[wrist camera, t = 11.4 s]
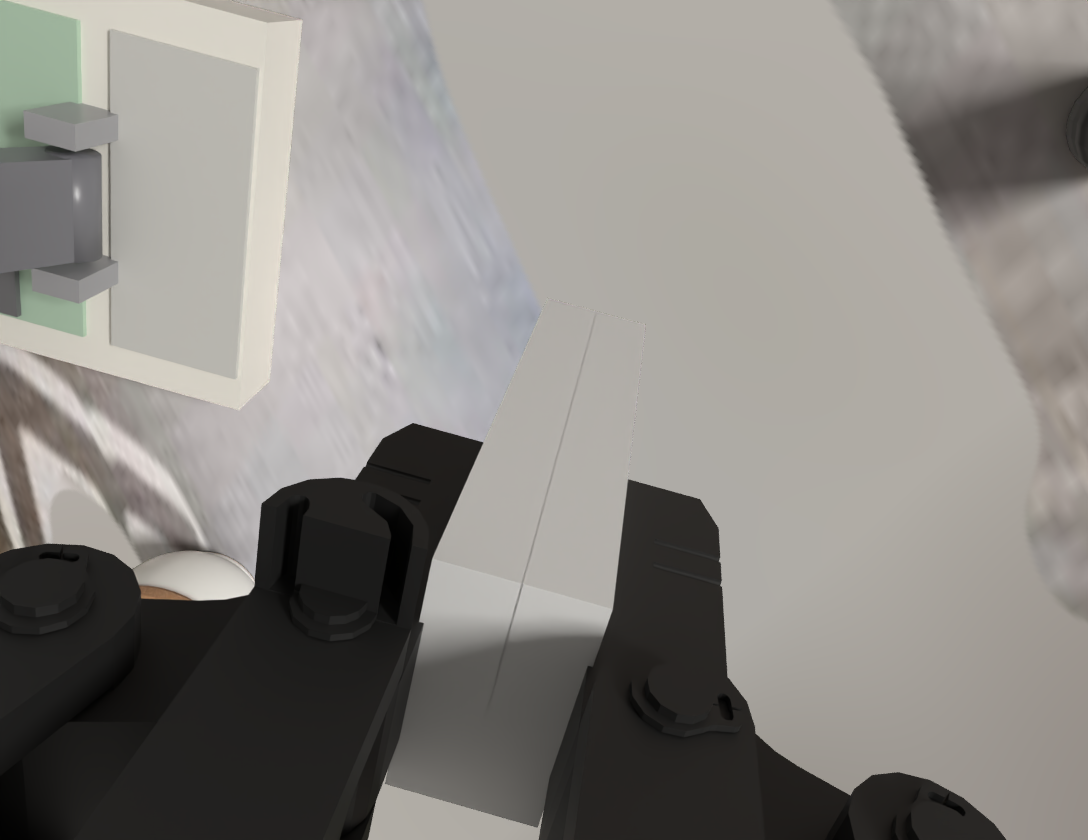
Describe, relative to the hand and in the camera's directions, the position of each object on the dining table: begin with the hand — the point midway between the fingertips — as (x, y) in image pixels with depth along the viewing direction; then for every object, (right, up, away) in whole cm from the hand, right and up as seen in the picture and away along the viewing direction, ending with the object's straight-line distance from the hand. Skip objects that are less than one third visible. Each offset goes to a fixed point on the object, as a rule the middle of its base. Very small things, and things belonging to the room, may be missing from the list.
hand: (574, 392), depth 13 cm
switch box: (-22, +13, +34) cm, 42 cm away
